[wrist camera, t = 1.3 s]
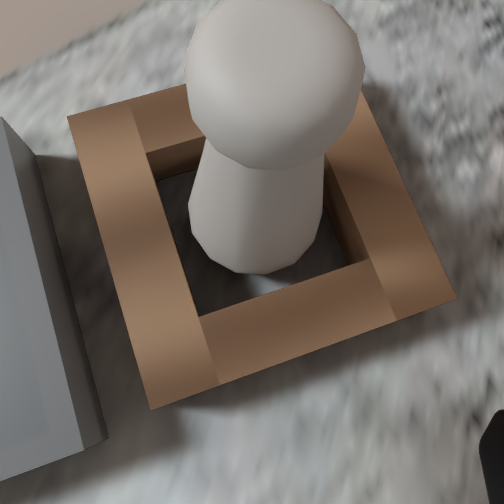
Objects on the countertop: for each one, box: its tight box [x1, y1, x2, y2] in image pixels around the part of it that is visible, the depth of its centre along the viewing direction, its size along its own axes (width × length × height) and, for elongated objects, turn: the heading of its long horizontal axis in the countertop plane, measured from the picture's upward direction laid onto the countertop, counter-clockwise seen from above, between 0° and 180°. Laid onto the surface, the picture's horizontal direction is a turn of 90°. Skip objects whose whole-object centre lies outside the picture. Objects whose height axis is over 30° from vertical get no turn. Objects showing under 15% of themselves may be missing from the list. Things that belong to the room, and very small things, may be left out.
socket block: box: [67, 84, 457, 410], centre depth 21 cm, size 13×13×3 cm
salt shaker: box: [184, 0, 365, 275], centre depth 16 cm, size 6×6×13 cm
